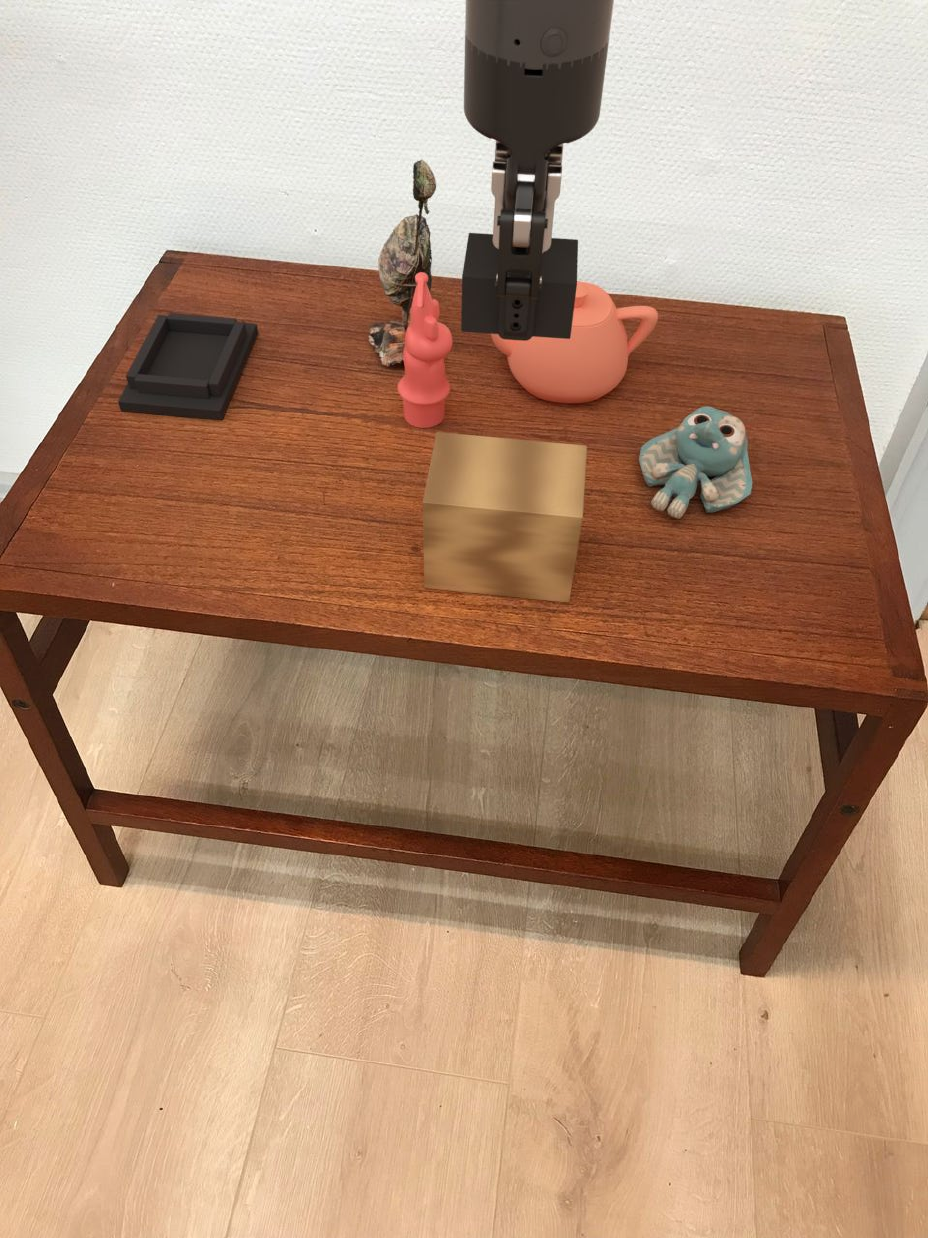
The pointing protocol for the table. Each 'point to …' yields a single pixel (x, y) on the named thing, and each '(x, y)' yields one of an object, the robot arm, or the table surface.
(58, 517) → the table surface
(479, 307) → the small black block
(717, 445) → the stuffed animal
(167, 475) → the table surface
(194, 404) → the base pad
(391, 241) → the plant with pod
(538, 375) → the teapot
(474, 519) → the oak block
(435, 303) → the figurine
